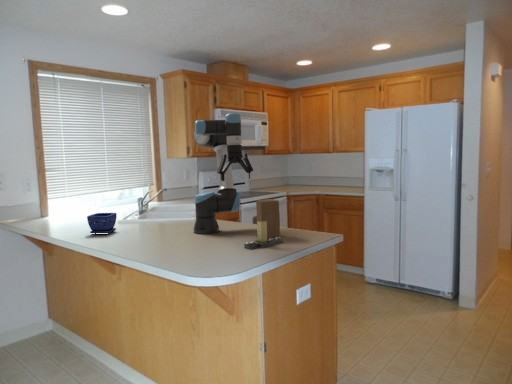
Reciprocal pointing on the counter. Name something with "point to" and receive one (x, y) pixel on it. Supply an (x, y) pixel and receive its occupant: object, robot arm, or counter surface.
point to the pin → (262, 231)
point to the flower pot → (102, 222)
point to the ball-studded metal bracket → (261, 245)
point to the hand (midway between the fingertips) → (236, 186)
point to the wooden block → (269, 216)
